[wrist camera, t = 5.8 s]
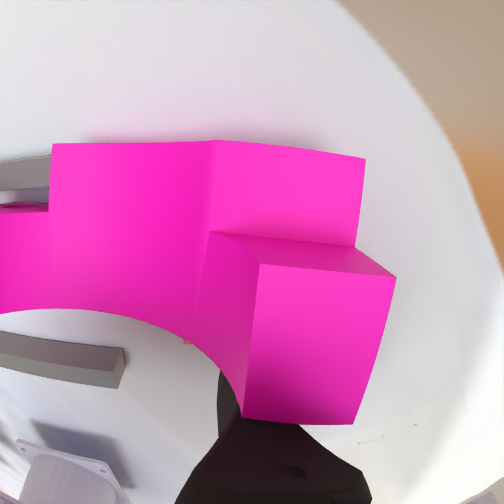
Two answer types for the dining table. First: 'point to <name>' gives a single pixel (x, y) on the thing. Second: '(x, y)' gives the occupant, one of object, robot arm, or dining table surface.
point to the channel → (48, 351)
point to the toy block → (214, 262)
